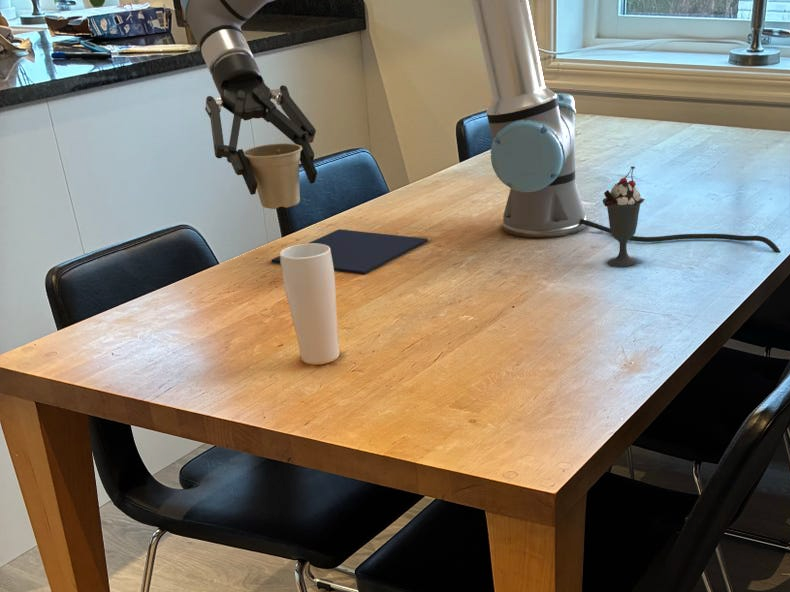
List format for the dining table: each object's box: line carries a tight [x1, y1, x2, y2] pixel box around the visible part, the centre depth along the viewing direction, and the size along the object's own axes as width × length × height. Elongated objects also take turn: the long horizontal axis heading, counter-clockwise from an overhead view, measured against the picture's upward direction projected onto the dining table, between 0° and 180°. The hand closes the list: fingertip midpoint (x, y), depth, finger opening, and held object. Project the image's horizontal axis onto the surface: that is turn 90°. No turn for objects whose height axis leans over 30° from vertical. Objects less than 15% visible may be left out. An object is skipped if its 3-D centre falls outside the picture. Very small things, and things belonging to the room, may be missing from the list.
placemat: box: [270, 229, 429, 275], centre depth 185 cm, size 20×20×1 cm
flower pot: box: [243, 142, 302, 210], centre depth 168 cm, size 9×9×9 cm
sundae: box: [602, 166, 645, 268], centre depth 167 cm, size 7×7×15 cm
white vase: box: [278, 242, 341, 366], centre depth 138 cm, size 7×7×15 cm
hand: (284, 183), depth 165 cm, fingers closed on flower pot, 9 cm apart
